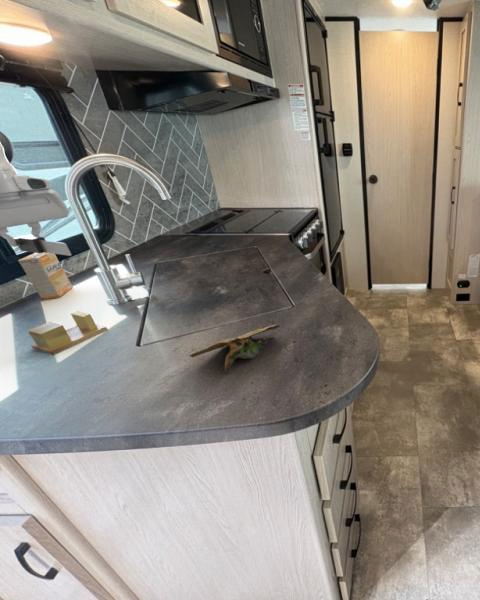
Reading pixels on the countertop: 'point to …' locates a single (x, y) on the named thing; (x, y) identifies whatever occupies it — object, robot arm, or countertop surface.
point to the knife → (42, 245)
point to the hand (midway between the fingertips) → (27, 243)
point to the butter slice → (84, 320)
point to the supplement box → (46, 274)
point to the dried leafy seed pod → (239, 347)
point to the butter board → (75, 338)
